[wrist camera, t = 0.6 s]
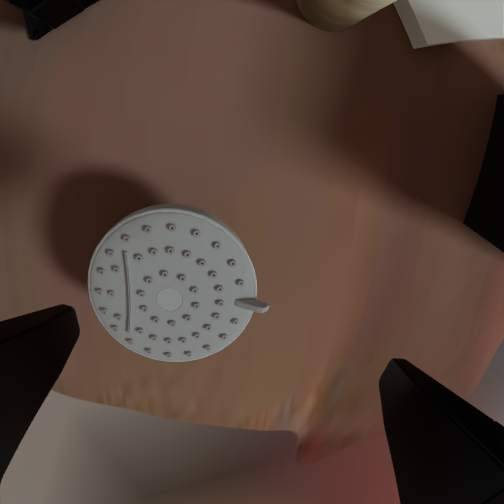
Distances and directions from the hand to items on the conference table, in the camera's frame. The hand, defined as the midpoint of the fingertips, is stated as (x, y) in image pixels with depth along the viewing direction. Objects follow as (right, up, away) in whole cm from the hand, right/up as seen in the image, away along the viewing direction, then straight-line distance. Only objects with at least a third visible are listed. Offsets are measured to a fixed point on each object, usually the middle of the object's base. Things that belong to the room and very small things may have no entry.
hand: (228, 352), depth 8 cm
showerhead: (-4, +3, +15) cm, 15 cm away
